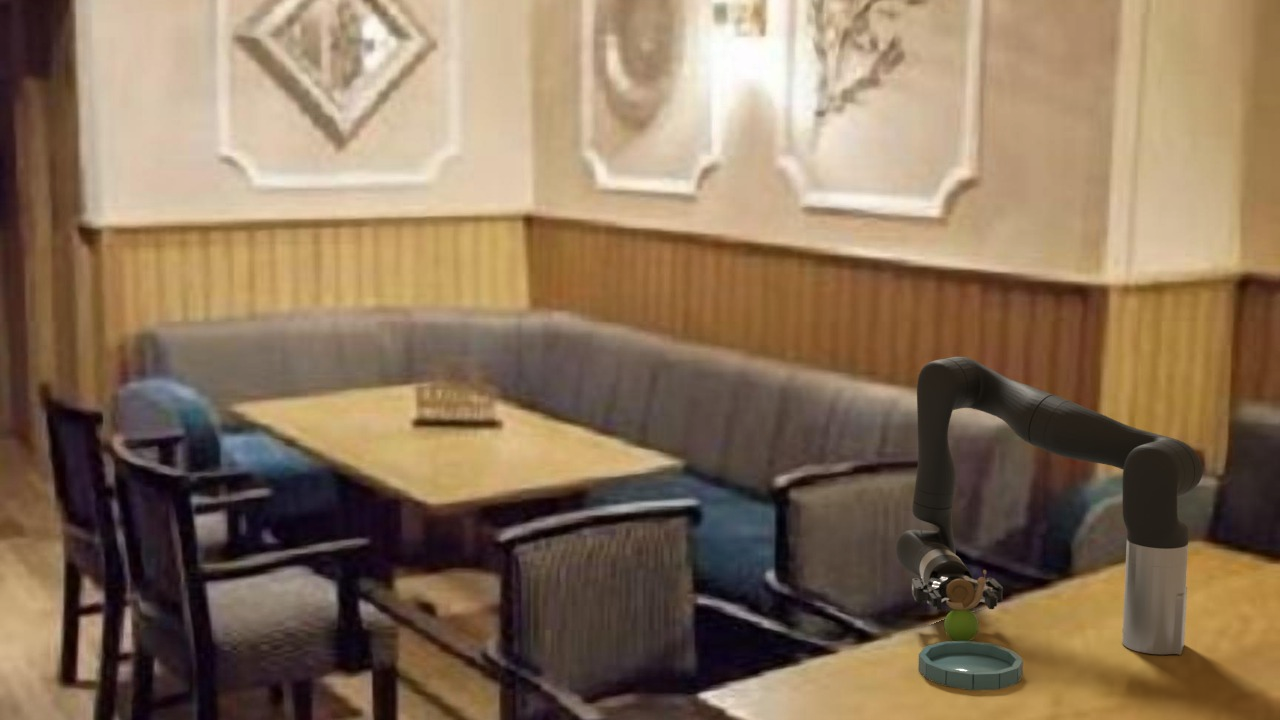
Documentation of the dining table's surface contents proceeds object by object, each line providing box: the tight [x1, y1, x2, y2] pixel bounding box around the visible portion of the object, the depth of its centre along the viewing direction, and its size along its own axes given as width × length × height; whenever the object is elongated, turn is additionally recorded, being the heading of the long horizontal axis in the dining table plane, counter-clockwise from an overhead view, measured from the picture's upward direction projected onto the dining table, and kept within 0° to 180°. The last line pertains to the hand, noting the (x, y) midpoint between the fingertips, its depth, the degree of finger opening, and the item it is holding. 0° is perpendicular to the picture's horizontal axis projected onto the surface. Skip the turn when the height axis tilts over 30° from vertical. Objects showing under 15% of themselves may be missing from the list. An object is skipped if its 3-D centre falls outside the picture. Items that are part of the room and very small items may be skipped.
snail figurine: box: [943, 569, 987, 641], centre depth 245 cm, size 5×6×12 cm
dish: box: [918, 640, 1024, 691], centre depth 231 cm, size 15×15×2 cm
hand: (966, 603), depth 244 cm, fingers open, 8 cm apart
